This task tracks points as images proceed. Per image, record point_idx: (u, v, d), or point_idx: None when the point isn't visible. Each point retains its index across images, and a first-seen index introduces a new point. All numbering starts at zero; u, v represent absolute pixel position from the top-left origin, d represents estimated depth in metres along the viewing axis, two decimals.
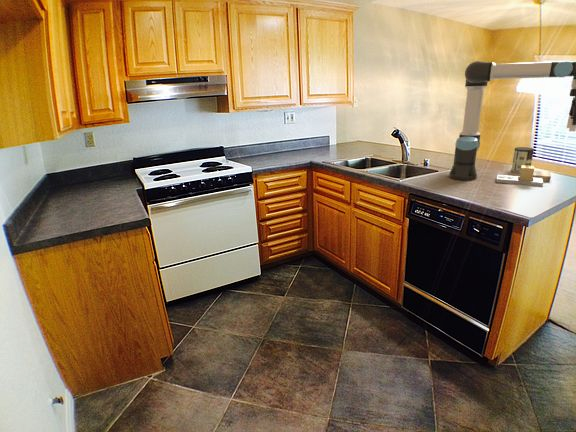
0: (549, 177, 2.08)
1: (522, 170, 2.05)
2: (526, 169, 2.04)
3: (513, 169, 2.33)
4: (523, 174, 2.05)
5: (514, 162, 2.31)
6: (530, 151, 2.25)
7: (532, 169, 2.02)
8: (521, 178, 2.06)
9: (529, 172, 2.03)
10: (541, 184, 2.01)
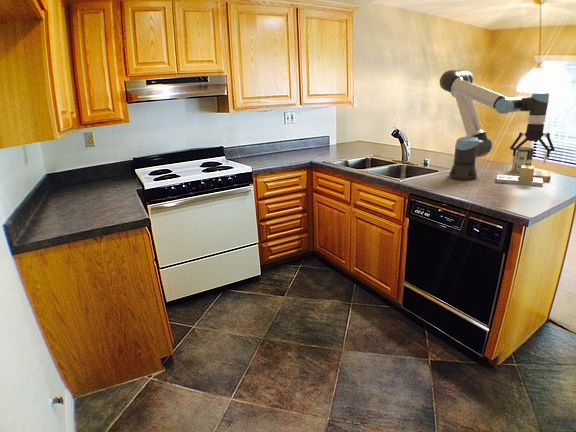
0: (549, 177, 2.08)
1: (522, 170, 2.05)
2: (526, 169, 2.04)
3: (513, 169, 2.33)
4: (523, 174, 2.05)
5: None
6: (530, 151, 2.25)
7: (532, 169, 2.02)
8: (521, 178, 2.06)
9: (529, 172, 2.03)
10: (541, 184, 2.01)
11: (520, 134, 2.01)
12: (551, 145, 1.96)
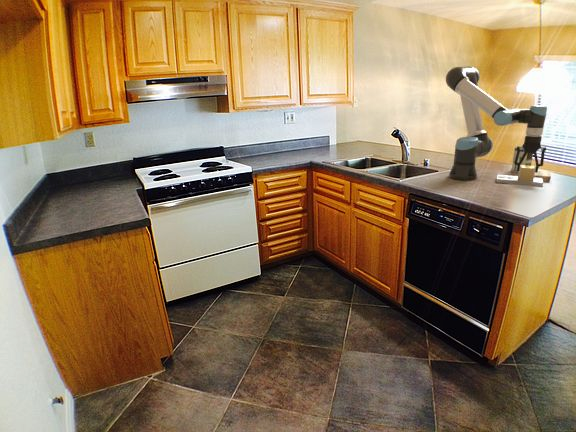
0: (549, 177, 2.08)
1: (522, 170, 2.05)
2: (526, 169, 2.04)
3: (513, 169, 2.33)
4: (523, 174, 2.05)
5: None
6: None
7: (532, 169, 2.02)
8: (521, 178, 2.06)
9: (529, 171, 2.03)
10: (541, 184, 2.01)
11: (518, 148, 2.04)
12: (542, 160, 2.00)
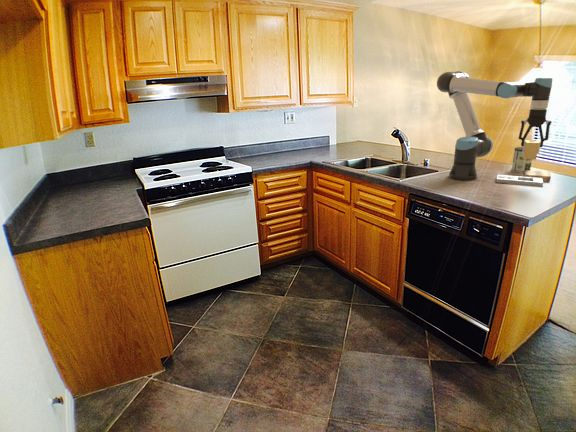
0: (549, 177, 2.08)
1: (526, 145, 2.00)
2: (531, 144, 1.99)
3: (513, 169, 2.33)
4: (527, 149, 2.00)
5: (514, 162, 2.31)
6: None
7: (537, 143, 1.98)
8: (525, 153, 2.01)
9: (534, 146, 1.98)
10: (541, 184, 2.01)
11: (522, 122, 1.99)
12: (547, 134, 1.96)
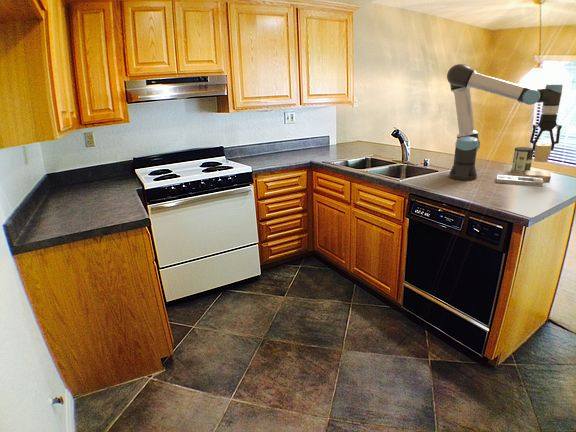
0: (549, 177, 2.08)
1: (538, 148, 2.09)
2: (542, 147, 2.08)
3: (513, 169, 2.33)
4: (539, 152, 2.09)
5: (514, 162, 2.31)
6: (530, 151, 2.25)
7: (548, 147, 2.06)
8: (537, 156, 2.10)
9: (545, 149, 2.07)
10: (541, 184, 2.01)
11: (534, 126, 2.08)
12: (557, 138, 2.04)
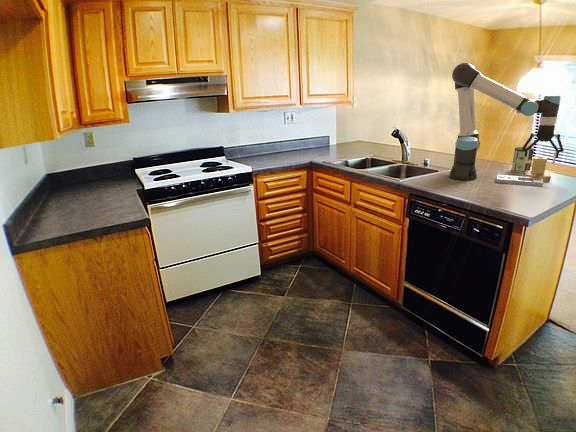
0: (549, 177, 2.08)
1: (535, 161, 2.11)
2: (539, 160, 2.10)
3: (513, 169, 2.33)
4: (536, 165, 2.12)
5: (514, 162, 2.31)
6: (530, 151, 2.25)
7: (545, 160, 2.09)
8: (534, 168, 2.13)
9: (542, 162, 2.10)
10: (541, 184, 2.01)
11: (531, 135, 2.10)
12: (560, 146, 2.05)
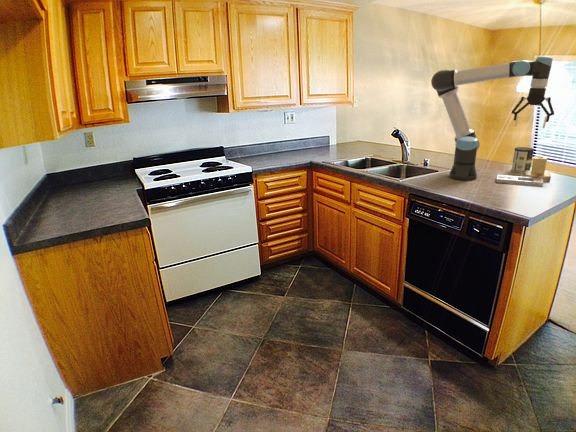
0: (549, 177, 2.08)
1: (535, 161, 2.11)
2: (539, 160, 2.10)
3: (513, 169, 2.33)
4: (536, 165, 2.12)
5: (514, 162, 2.31)
6: (530, 151, 2.25)
7: (545, 160, 2.09)
8: (534, 168, 2.13)
9: (542, 162, 2.10)
10: (541, 184, 2.01)
11: (522, 98, 2.07)
12: (551, 109, 2.02)
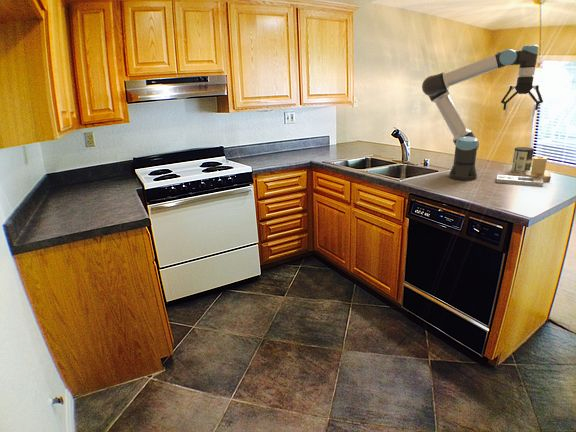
0: (549, 177, 2.08)
1: (535, 161, 2.11)
2: (539, 160, 2.10)
3: (513, 169, 2.33)
4: (536, 165, 2.12)
5: (514, 162, 2.31)
6: (530, 151, 2.25)
7: (545, 160, 2.09)
8: (534, 168, 2.13)
9: (542, 162, 2.10)
10: (541, 184, 2.01)
11: (510, 87, 2.09)
12: (540, 97, 2.03)
